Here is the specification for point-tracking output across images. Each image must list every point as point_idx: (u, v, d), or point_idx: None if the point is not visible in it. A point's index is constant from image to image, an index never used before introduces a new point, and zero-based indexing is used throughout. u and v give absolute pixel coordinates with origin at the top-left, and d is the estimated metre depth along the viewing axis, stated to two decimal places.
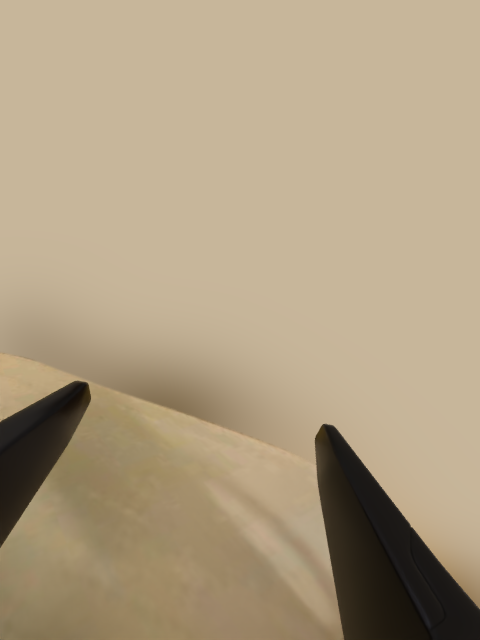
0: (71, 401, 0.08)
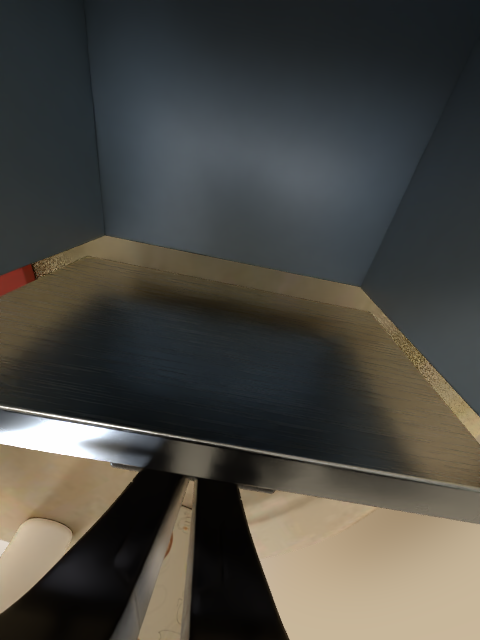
0: None
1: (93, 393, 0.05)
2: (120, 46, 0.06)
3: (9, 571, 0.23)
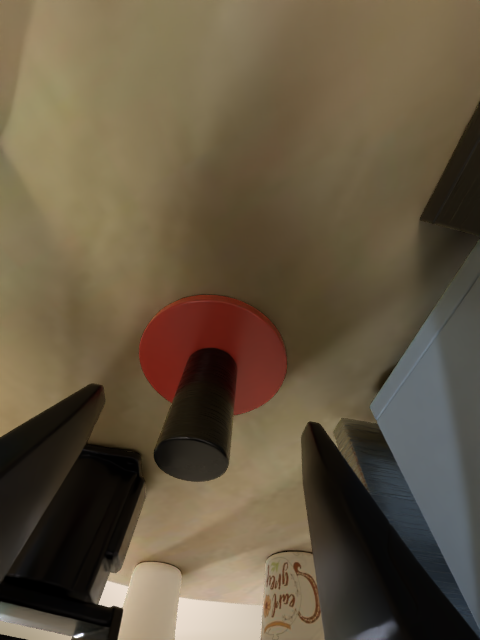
0: (88, 404, 0.08)
1: None
2: None
3: (143, 621, 0.23)
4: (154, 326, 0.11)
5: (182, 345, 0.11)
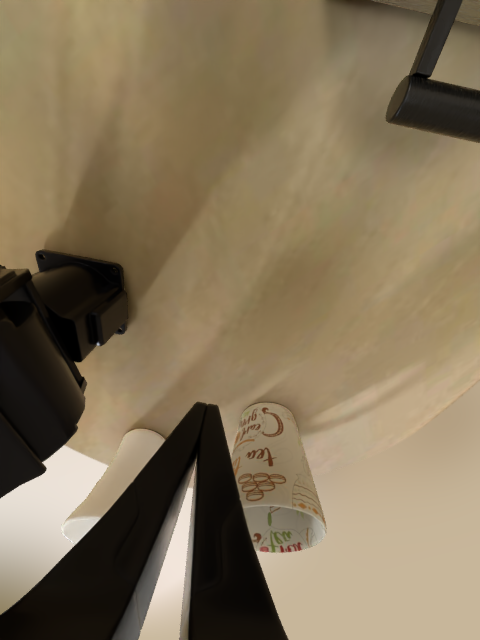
0: None
1: None
2: None
3: (130, 461, 0.26)
4: None
5: None
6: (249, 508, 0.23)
